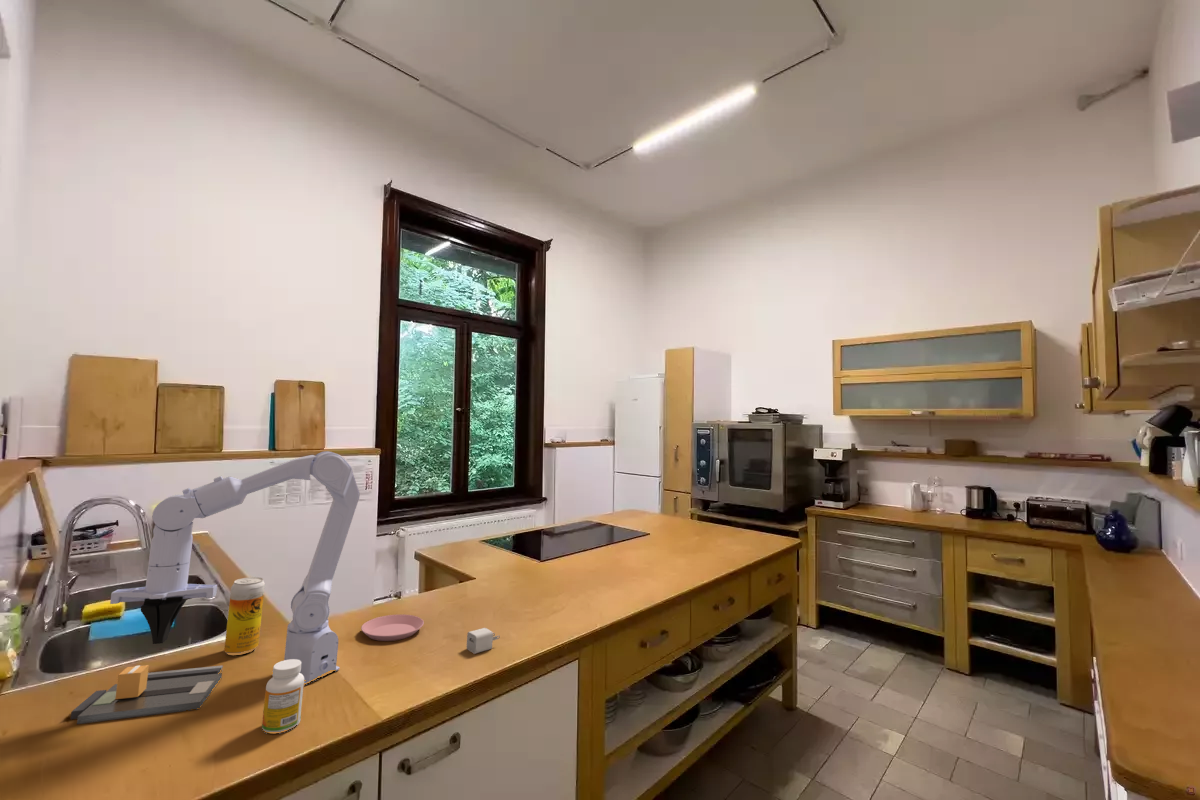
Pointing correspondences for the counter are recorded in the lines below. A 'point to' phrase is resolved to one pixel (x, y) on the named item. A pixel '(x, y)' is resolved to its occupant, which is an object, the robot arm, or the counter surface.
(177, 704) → the panel
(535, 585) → the counter surface
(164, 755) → the counter surface
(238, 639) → the beer can
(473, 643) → the usb wall charger
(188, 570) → the robot arm
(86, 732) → the counter surface
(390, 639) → the plate
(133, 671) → the cardboard box
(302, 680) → the supplement bottle
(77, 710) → the flat board
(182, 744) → the counter surface
